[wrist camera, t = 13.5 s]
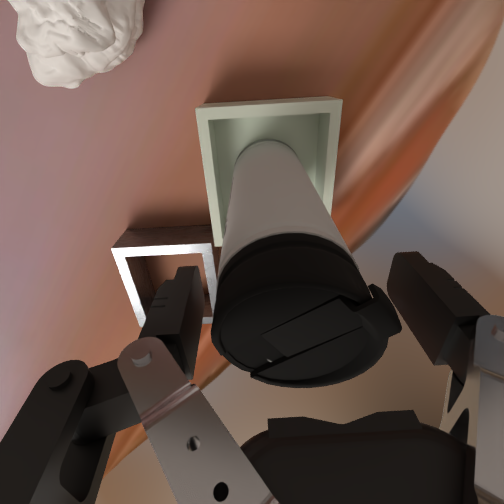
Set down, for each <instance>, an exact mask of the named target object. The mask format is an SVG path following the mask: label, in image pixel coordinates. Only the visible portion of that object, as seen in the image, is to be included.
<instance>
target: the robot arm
mask: <svg viewBox="0 0 504 504" xmlns="http://www.w3.org/2000/svg"><path fill="white" fill-rule="evenodd" d="M387 291H388V295H389V297H390V299H391V300H392V302H393V304H394V305H395V307H396V308H397V310H398V311H399V313H400V314H401V316H402V317H403V319H404V320H405V322H406V323H407V325H408V326H409V328H410V330H411V331H412V332H413V334H414V336H415V337H416V339H417V340H418V342H419V343H420V345H421V346H422V348H423V349H424V351H425V352H426V354H427V355H428V357H429V359H430V360H431V362H432V363H433V365H449V366H450V367H451V369H452V370H451V372H450V374H449V378H448V384H447V391H446V398H445V404H444V411H443V417H442V422H441V425H440V428H439V429H438V428H436V427H433V426H430V425H427V424H424V423H420V422H419V420H418V418H417V416H416V414H415V413H414V411H413V410H404V411H387V412H376V413H374V414H371V415H368V416H365V417H363V418H360V419H357V420H355V421H352V422H350V423H347V424H336V423H332V422H327V421H322V420H317V419H312V418H307V417H288V418H272V419H268V430H266V431H264V432H261V433H259V434H257V435H256V436H253V437H252V438H251V439H249V440H248V441H246V442H245V443H244V444H243V445H242V446H241V447H239V446H238V444H237V443H236V441H235V440H234V438H233V437H232V435H231V434H230V433H229V431H228V430H227V428H226V427H225V426H224V424H223V423H222V421H221V420H220V418H219V417H218V415H217V414H216V412H215V411H214V409H213V408H212V407H211V405H210V404H209V402H208V401H207V399H206V398H205V396H204V395H203V394H202V392H201V391H200V389H199V388H198V387H197V386H196V385H195V384H191V383H190V382H189V380H192V379H193V375H194V369H195V363H196V357H197V351H198V345H199V339H200V333H201V327H202V320H203V314H204V308H205V299H204V292H203V287H202V282H201V277H200V272H199V268H198V266H184V267H178V270H177V273H176V275H175V278H174V279H173V280H166V281H165V282H164V283H163V284H162V285H161V286H160V287H159V288H158V290H157V292H156V295H155V297H154V300H153V302H152V305H151V308H150V310H149V312H148V315H147V318H146V320H145V323H144V325H143V328H142V330H141V333H140V335H139V338H138V339H137V340H135V341H133V342H132V343H130V344H129V345H128V346H126V347H125V348H124V349H123V351H122V352H121V354H120V355H119V358H117V359H115V360H112V361H109V362H106V363H103V364H100V365H97V366H94V367H91V368H88V367H87V365H86V364H85V363H84V362H83V361H80V360H70V361H66V362H63V363H60V364H58V365H56V366H54V367H53V368H51V369H50V370H48V371H47V372H46V373H45V374H44V375H43V376H42V377H41V378H40V379H39V380H38V382H37V383H36V385H35V386H34V388H33V390H32V391H31V393H30V395H29V396H28V398H27V399H26V401H25V403H24V404H23V406H22V408H21V409H20V411H19V413H18V414H17V416H16V418H15V419H14V421H13V423H12V424H11V426H10V428H9V429H8V431H7V433H6V434H5V436H4V437H3V439H2V441H1V442H0V504H95V501H96V498H97V494H98V491H99V488H100V484H101V481H102V478H103V474H104V471H105V468H106V464H107V461H108V458H109V454H110V451H111V447H112V444H113V441H114V437H115V434H116V432H118V431H121V430H123V429H126V428H128V427H131V426H133V425H136V424H138V423H141V422H142V425H143V427H144V429H145V432H146V434H147V436H148V438H149V440H150V443H151V445H152V447H153V449H154V452H155V454H156V456H157V458H158V461H159V463H160V465H161V467H162V470H163V472H164V474H165V476H166V479H167V481H168V483H169V485H170V488H171V490H172V492H173V494H174V496H175V499H176V501H177V503H178V504H504V317H502V316H497V315H490V314H489V313H488V312H487V311H486V310H485V309H484V308H483V307H482V306H481V305H480V304H479V303H478V302H477V301H476V300H475V299H474V298H473V297H472V296H471V295H470V294H469V293H468V292H467V291H466V290H465V289H462V286H461V285H460V284H459V283H458V282H457V281H454V278H452V277H451V275H450V274H448V273H447V272H446V271H445V270H444V269H442V268H440V267H439V266H437V265H435V264H433V263H429V262H428V261H427V260H426V259H425V258H424V257H423V256H422V255H421V254H420V253H419V252H417V251H416V252H400V253H396V254H395V255H394V258H393V261H392V265H391V269H390V273H389V277H388V281H387Z"/></svg>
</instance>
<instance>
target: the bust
mask: <svg viewBox="0 0 504 504" xmlns="http://www.w3.org/2000/svg"><path fill="white" fill-rule="evenodd" d="M8 1H9V2H10V4H11V5H12V6H13V8H14V9H15V10H16V11H17V13H18V23H17V33H16V39H17V41H18V43H19V45H20V46H21V47H22V48H23V49H24V50H25V51H26V53H27V57H28V61H29V65H30V67H31V70H32V73H33V76H34V78H35V79H36V80H37V81H38V82H39V83H40V84H42V85H44V86H49V87H58V86H62V87H66V88H70V89H74V88H77V87H79V86H80V84H81V83H82V82H83V81H84V80H85V79H86V78H90V77H92V76H93V75H95V74H96V73H104V72H109V71H110V70H112V69H113V68H115V67H116V66H117V65H119V64H121V63H122V62H123V61H124V60H126V59H127V58H128V57H129V56H130V55H132V54H133V51H134V47H135V45H136V41H137V39H138V38H139V37H140V36H141V34H142V32H143V7H144V3H145V0H8Z"/></svg>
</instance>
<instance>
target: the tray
mask: <svg viewBox="0 0 504 504" xmlns="http://www.w3.org/2000/svg"><path fill="white" fill-rule="evenodd" d="M342 103H343V99H338V98H334V97H329V96H320V97H304V98H287V99H270V100H254V101H237V102H221V103H204V104H202V105H200V106H198V107H197V108H195V111H196V118H197V125H198V132H199V139H200V146H201V153H202V160H203V167H204V174H205V181H206V188H207V195H208V202H209V209H210V216H211V223H212V230H213V237H214V244H215V247H217V246H222V244H223V237H224V231H225V224H226V218H227V211H228V204H229V198H230V191H231V184H232V178H233V171H234V165H235V162H236V160H237V157H238V156H239V154H240V153H241V151H242V150H243V149H244V148H245V147H246V146H248V145H249V144H251V143H253V142H255V141H257V140H261V139H276V140H280V141H282V142H284V143H286V144H287V145H289V146H290V147H291V148H292V149H293V150H294V151H295V153H296V154H297V156H298V158H299V160H300V162H301V164H302V165H303V167H304V169H305V171H306V173H307V174H308V176H309V178H310V180H311V182H312V184H313V185H314V187H315V189H316V191H317V193H318V194H319V196H320V198H321V200H322V202H323V204H324V205H325V207H326V209H327V211H328V213H329V214H330V216H331V207H332V198H333V188H334V179H335V169H336V160H337V150H338V141H339V131H340V122H341V112H342Z"/></svg>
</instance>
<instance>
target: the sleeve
mask: <svg viewBox="0 0 504 504" xmlns="http://www.w3.org/2000/svg"><path fill="white" fill-rule="evenodd" d="M111 250H112V252H113V255H114V258H115V260H116V263H117V266H118V269H119V271H120V274H121V277H122V279H123V282H124V285H125V287H126V290H127V293H128V295H129V298H130V301H131V303H132V306H133V309H134V312H135V314H136V317H137V320H138V322H139V325H140V327H143V325H144V323H145V320H146V318H147V315H148V312H149V310H150V308H151V305H152V302H153V300H154V297H155V295H156V294H155V291H154V288H153V285H152V281H151V278H150V275H149V271H148V268H147V265H146V262H145V258H144V256H149V255H168V254H187V253H202V255H203V261H204V267H205V272H206V278H207V284H208V290H209V294H204V299H205V308H204V314H203V320H202V324H208V323H212V321H213V313H214V306H215V301H216V284H217V278H218V270H219V264H220V257H219V250H218V246H217V247H215V244H214V237H213V230H212V225H198V226H179V227H161V228H142V229H126V230H125V232H124V233H123V234H122V235H121V237H120V238H119V239H118V240H117V242H116V243H115V244H114V246H113V247H112V248H111Z"/></svg>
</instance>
